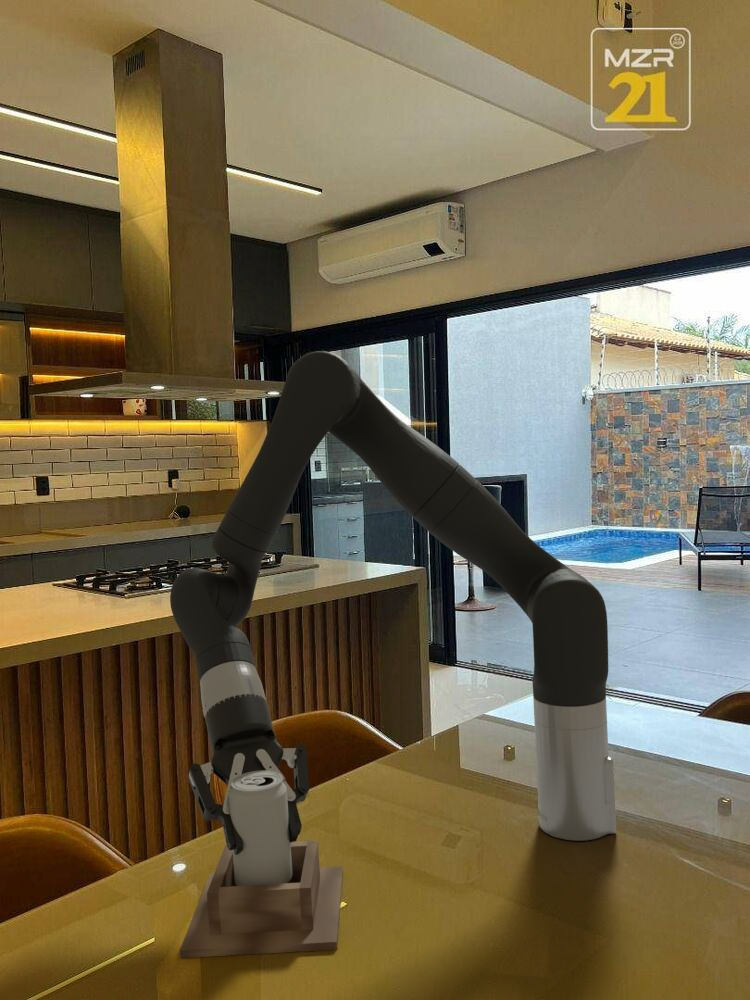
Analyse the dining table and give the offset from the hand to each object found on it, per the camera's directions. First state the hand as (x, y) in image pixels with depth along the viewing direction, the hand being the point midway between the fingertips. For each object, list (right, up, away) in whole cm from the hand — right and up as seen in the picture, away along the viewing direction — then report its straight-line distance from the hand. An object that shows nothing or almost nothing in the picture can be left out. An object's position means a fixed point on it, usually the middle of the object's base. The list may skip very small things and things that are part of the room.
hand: (267, 844), depth 94 cm
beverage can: (-1, -5, +2) cm, 6 cm away
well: (0, -8, +2) cm, 8 cm away
